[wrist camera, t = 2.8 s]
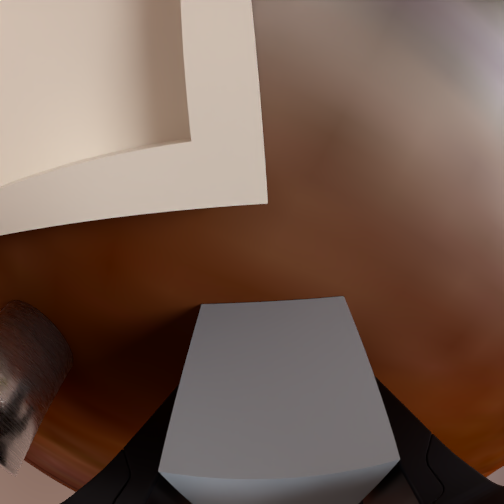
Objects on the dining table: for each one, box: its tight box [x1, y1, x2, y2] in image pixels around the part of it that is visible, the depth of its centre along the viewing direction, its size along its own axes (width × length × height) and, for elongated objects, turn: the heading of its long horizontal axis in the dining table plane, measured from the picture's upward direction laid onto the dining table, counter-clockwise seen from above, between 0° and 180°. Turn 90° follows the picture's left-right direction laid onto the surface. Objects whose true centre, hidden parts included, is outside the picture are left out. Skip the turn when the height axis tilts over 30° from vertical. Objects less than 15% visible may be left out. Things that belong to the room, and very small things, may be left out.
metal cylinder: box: [0, 300, 73, 476], centre depth 7 cm, size 4×4×6 cm
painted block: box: [158, 296, 400, 504], centre depth 7 cm, size 4×4×5 cm
